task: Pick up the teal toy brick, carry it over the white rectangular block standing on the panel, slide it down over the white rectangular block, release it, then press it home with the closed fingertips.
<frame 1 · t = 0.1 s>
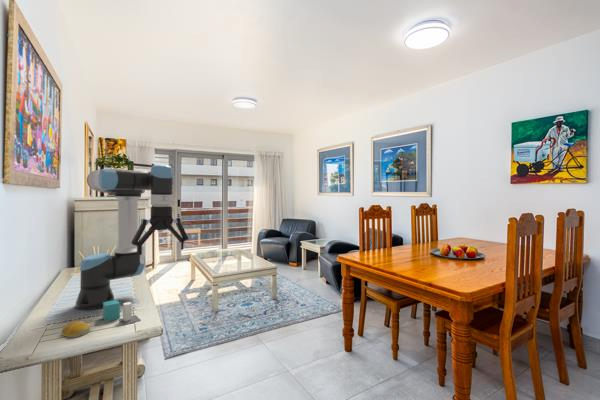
hand: (161, 260, 116), 28 cm above the table, fingers open, 13 cm apart
panel: (127, 319, 126), on the table
white rectangular block: (127, 319, 126), resting on panel
bread roll: (76, 333, 115), on the table
teal toy brick: (111, 317, 128), on the table
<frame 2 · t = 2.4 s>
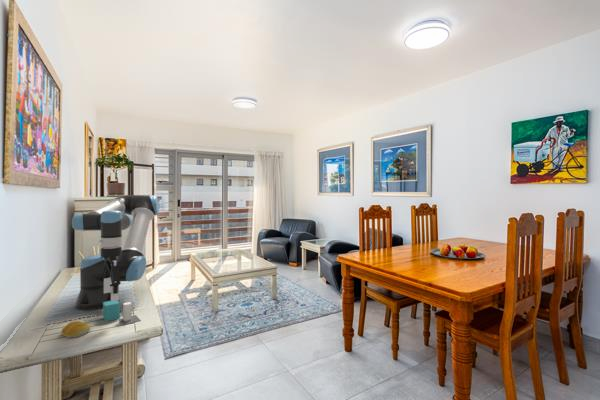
hand: (110, 296, 127), 9 cm above the table, fingers open, 13 cm apart
nothing on the table moved.
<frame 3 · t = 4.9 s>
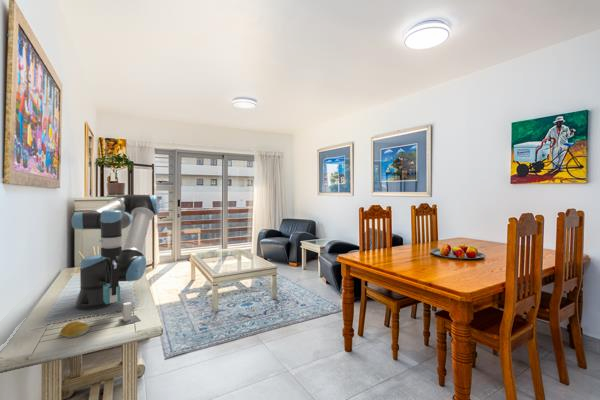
hand: (111, 299, 128), 8 cm above the table, fingers closed on teal toy brick, 5 cm apart
teal toy brick: (111, 300, 128), point 7 cm above the table, touching gripper
everything else where it was.
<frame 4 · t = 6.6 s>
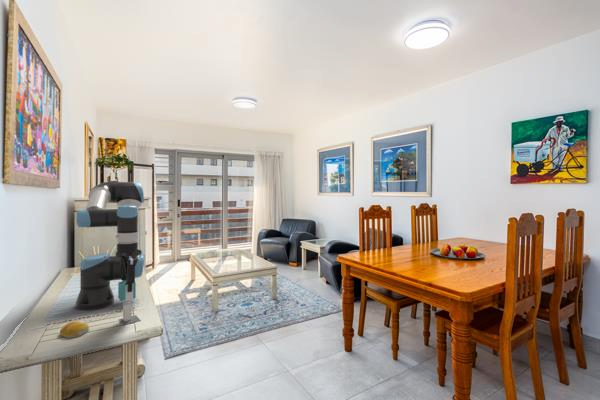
hand: (127, 297, 126), 10 cm above the table, fingers closed on teal toy brick, 5 cm apart
teal toy brick: (126, 298, 126), point 9 cm above the table, touching gripper
everything else where it was.
when the fingers open (1 cm above the table, at t = 8.6 s): teal toy brick stays where it is, resting on white rectangular block.
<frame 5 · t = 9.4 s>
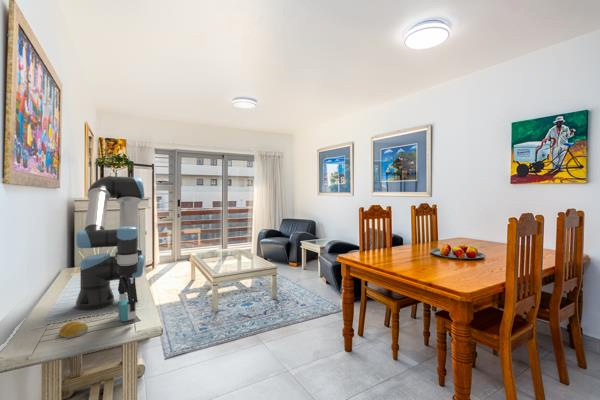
hand: (127, 313, 126), 3 cm above the table, fingers open, 13 cm apart
teal toy brick: (126, 317, 126), point 1 cm above the table, touching white rectangular block
everything else where it was.
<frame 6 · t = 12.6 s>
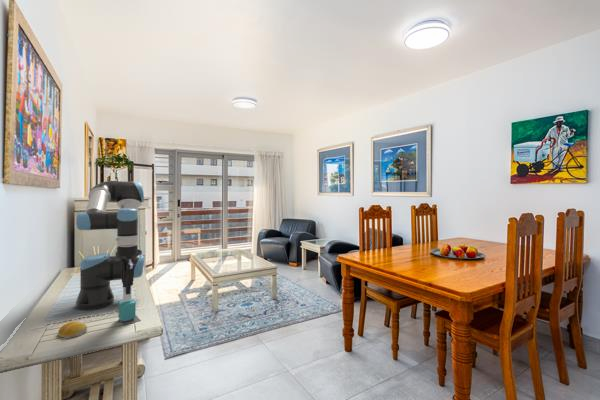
hand: (127, 300, 126), 8 cm above the table, fingers closed
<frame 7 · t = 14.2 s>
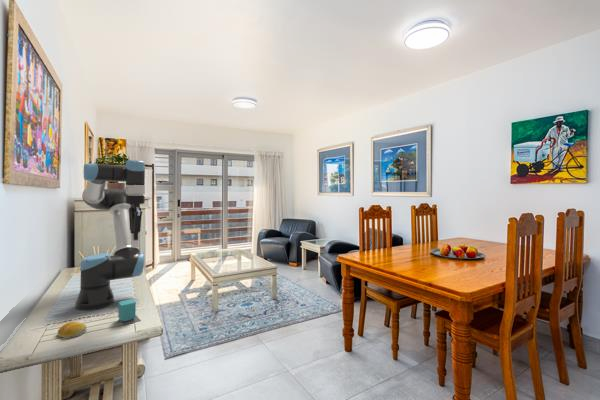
hand: (134, 246, 135), 29 cm above the table, fingers closed
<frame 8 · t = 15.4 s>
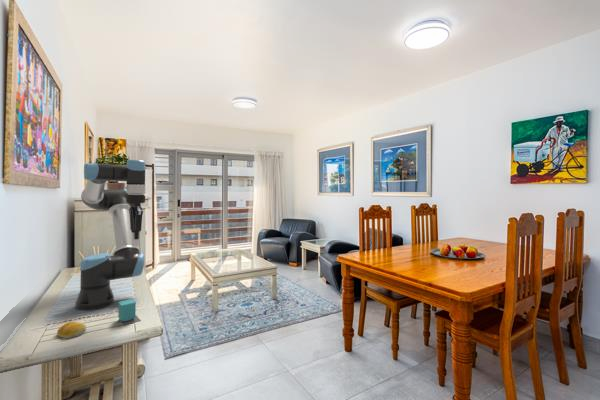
hand: (135, 246, 136), 29 cm above the table, fingers closed
at the end: teal toy brick 0.2 cm from the white rectangular block (horizontally); teal toy brick point 1.0 cm above the table; the gripper is holding nothing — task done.
